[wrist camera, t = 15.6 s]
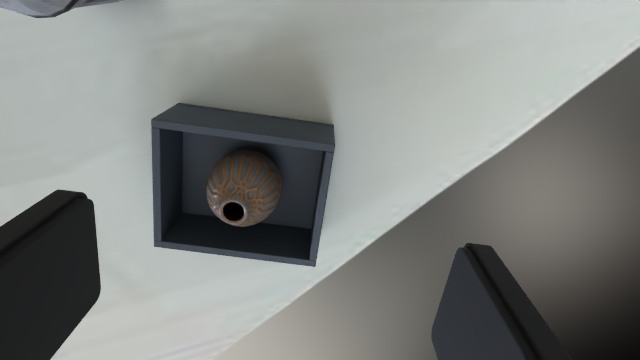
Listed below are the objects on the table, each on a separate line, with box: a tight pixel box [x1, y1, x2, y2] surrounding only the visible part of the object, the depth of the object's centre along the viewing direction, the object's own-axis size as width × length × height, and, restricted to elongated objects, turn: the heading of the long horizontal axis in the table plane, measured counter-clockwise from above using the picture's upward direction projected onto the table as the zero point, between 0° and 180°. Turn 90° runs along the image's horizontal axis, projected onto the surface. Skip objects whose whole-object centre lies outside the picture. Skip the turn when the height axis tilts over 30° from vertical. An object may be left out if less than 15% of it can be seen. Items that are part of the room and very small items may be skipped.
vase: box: [206, 150, 281, 227], centre depth 37 cm, size 7×7×9 cm
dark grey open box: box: [151, 103, 335, 267], centre depth 39 cm, size 12×15×7 cm
